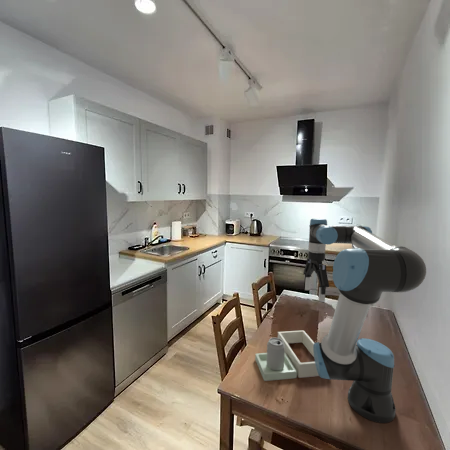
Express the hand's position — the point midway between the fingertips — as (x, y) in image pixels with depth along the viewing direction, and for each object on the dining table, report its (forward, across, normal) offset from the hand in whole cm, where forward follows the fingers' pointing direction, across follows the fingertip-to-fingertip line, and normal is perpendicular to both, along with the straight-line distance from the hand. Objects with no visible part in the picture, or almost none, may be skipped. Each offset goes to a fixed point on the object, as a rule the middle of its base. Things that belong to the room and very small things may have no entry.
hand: (314, 295), depth 124 cm
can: (+28, -10, +22) cm, 37 cm away
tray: (+29, -10, +22) cm, 38 cm away
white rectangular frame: (+29, -4, +7) cm, 30 cm away
